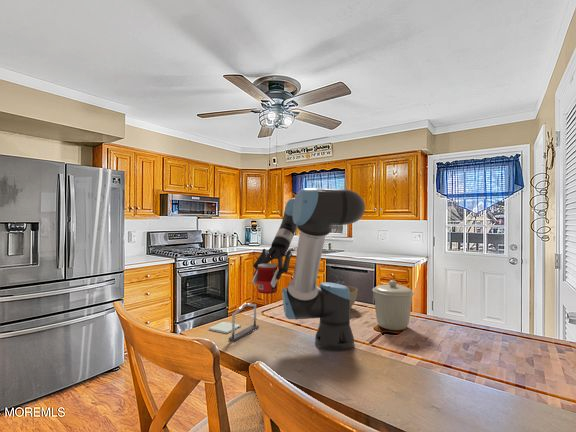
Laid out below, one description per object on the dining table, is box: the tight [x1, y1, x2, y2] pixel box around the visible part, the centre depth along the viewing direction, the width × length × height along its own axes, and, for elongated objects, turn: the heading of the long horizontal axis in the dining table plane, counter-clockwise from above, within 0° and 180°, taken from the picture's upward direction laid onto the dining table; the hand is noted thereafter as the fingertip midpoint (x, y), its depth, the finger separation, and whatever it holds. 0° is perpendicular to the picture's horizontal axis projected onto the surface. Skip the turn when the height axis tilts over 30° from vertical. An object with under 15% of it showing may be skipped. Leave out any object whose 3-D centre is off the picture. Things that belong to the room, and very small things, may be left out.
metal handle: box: [228, 302, 260, 343], centre depth 137 cm, size 3×18×13 cm, turn 153°
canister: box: [371, 279, 415, 331], centre depth 147 cm, size 18×18×21 cm
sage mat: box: [208, 321, 242, 334], centre depth 143 cm, size 10×10×1 cm
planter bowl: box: [345, 285, 358, 311], centre depth 175 cm, size 16×16×11 cm
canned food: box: [257, 262, 278, 295], centre depth 132 cm, size 8×8×11 cm
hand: (263, 284), depth 129 cm, fingers closed on canned food, 8 cm apart
